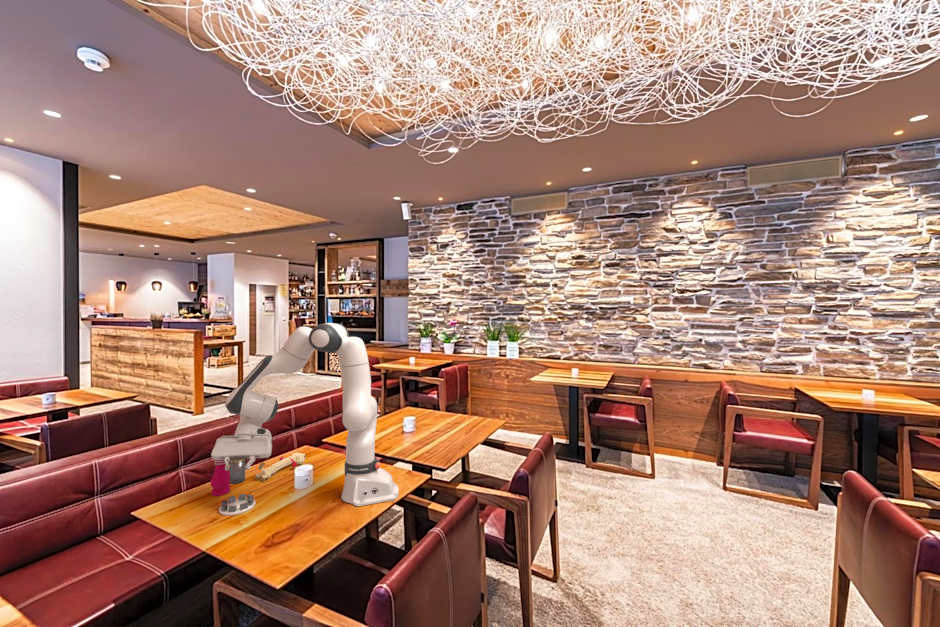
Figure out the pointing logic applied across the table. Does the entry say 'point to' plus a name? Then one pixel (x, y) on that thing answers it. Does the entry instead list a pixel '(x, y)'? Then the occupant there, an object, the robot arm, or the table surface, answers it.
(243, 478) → the sleeve nut
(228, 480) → the pepper mill
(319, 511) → the table surface
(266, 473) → the cream dog bone
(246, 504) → the castellated coaster
